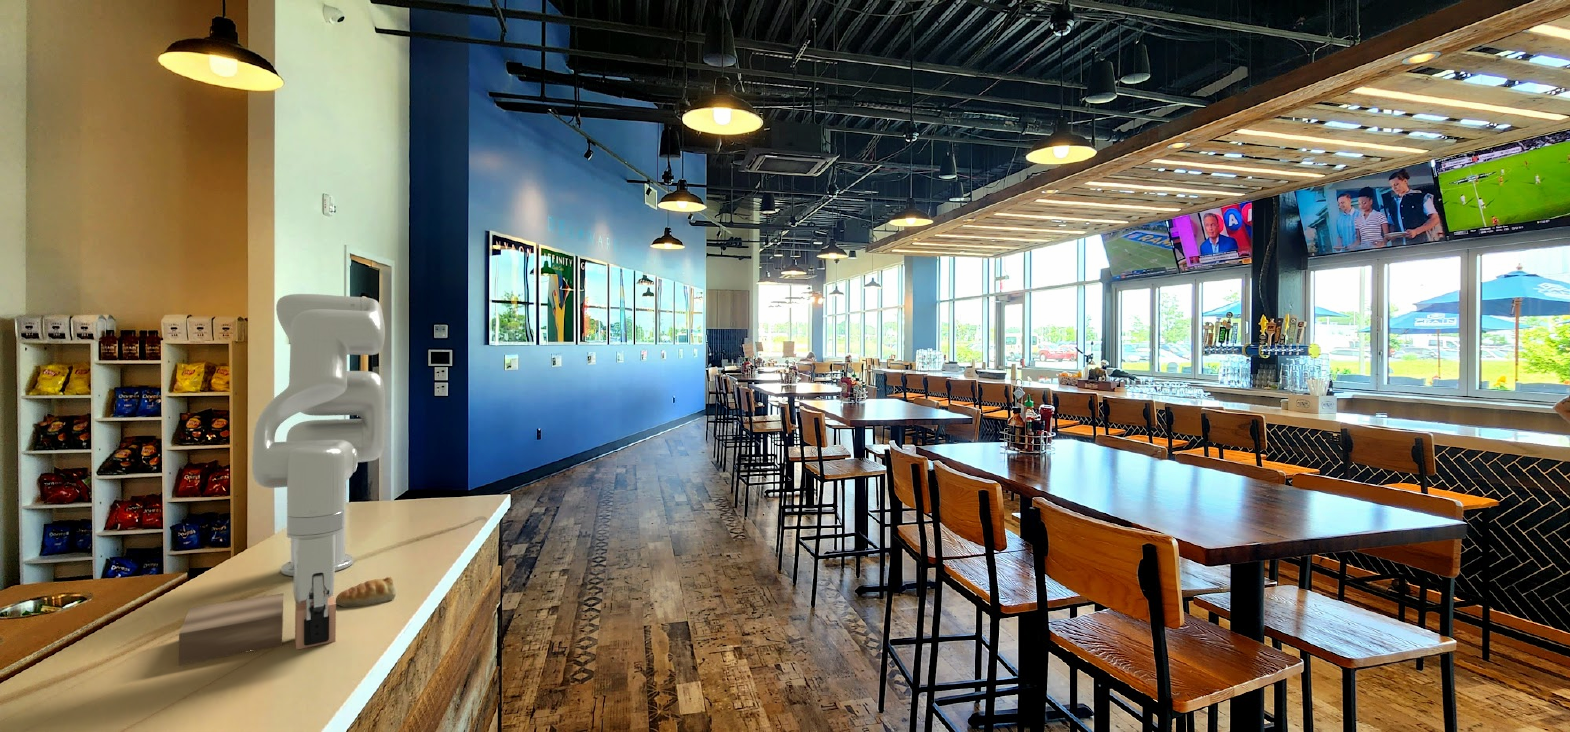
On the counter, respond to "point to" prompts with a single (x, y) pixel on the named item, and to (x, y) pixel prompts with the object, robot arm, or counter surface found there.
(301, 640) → the terracotta block
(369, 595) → the pastry
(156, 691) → the counter surface
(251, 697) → the counter surface
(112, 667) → the counter surface
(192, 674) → the counter surface
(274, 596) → the taupe streaked block
